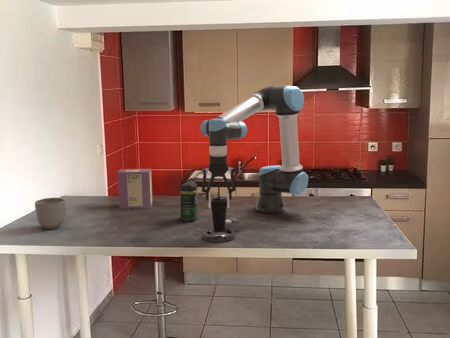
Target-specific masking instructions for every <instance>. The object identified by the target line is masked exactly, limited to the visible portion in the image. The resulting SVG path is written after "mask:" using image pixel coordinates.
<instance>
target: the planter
mask: <svg viewBox="0 0 450 338" xmlns="http://www.w3.org/2000/svg"><path fill="white" fill-rule="evenodd" d="M34 209H35V214H36V220H37V223H38V224H39V225H40V226H41V227H43V229H44V230H49V231H50V230H56V229H60V228H61V225H63V224H64V223H65V221H66V215H67V201H66V198H62V197H47V198H41V199H37V200H35V201H34Z"/></svg>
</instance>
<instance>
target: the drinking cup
mask: <svg viewBox="0 0 450 338" xmlns="http://www.w3.org/2000/svg"><path fill="white" fill-rule="evenodd" d="M220 191H221V189H220V184H218V185H217V196H214V197H211V208H210V209H211V217H212V218H211V219H212V225H213V227H212V228H214V231H224V230H225V220H227V219H226V218H227V209H228V208H227V201H228V200H227V197H224V196H221V195H220V193H221V192H220Z"/></svg>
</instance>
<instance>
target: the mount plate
mask: <svg viewBox="0 0 450 338" xmlns="http://www.w3.org/2000/svg"><path fill="white" fill-rule="evenodd" d="M236 232H237V231H234V230H232V229H229V228H225V230H224V231H214V227H211V228H207V229H205V230H203V232H202V237H203V240H205V241H207V242H210V241H211V242H210V243H227V242H230V241H233V240H235V239H236V236H237V233H236Z"/></svg>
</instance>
